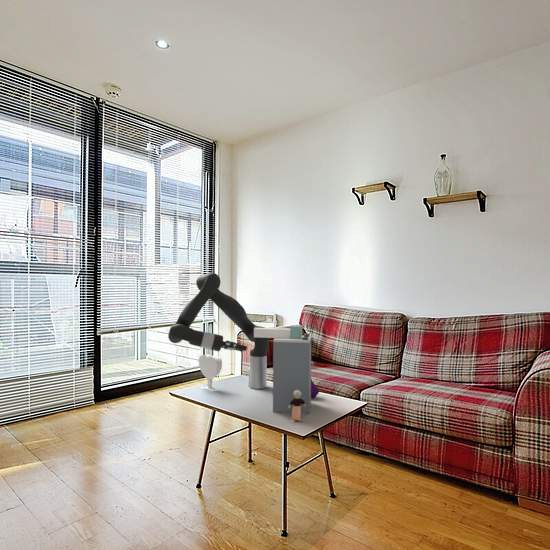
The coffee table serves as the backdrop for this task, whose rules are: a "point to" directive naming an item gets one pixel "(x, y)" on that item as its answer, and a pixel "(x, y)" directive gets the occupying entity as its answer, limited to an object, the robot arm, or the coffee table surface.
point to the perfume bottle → (313, 387)
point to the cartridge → (279, 332)
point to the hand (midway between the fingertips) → (244, 349)
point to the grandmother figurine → (296, 406)
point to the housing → (291, 372)
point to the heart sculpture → (210, 368)
